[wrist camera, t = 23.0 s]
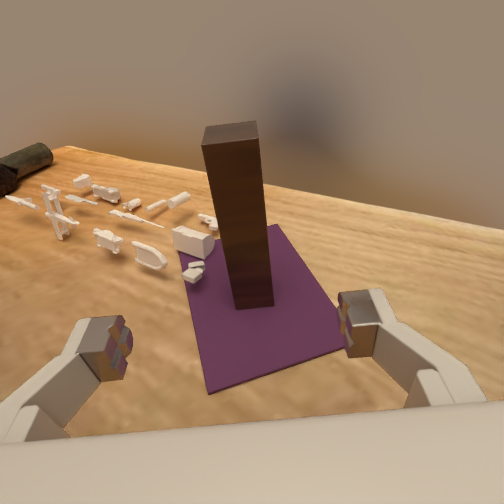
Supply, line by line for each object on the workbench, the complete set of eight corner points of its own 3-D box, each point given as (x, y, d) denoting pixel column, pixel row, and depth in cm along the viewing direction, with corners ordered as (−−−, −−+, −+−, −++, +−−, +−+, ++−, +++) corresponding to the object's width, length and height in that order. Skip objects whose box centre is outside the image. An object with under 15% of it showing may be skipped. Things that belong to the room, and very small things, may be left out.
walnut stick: (274, 306, 29) (258, 137, 20) (235, 310, 29) (200, 144, 20) (271, 279, 32) (255, 120, 22) (235, 283, 32) (205, 126, 22)
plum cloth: (208, 395, 23) (207, 393, 23) (178, 251, 37) (178, 249, 37) (358, 343, 25) (358, 340, 25) (277, 225, 39) (277, 223, 39)
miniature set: (3, 219, 46) (80, 191, 55) (196, 306, 31) (259, 249, 40) (-17, 175, 43) (69, 153, 52) (190, 250, 28) (260, 200, 37)
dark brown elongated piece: (40, 163, 66) (25, 135, 62) (65, 165, 63) (51, 136, 60) (-48, 208, 53) (-73, 176, 50) (-21, 213, 51) (-45, 179, 47)
